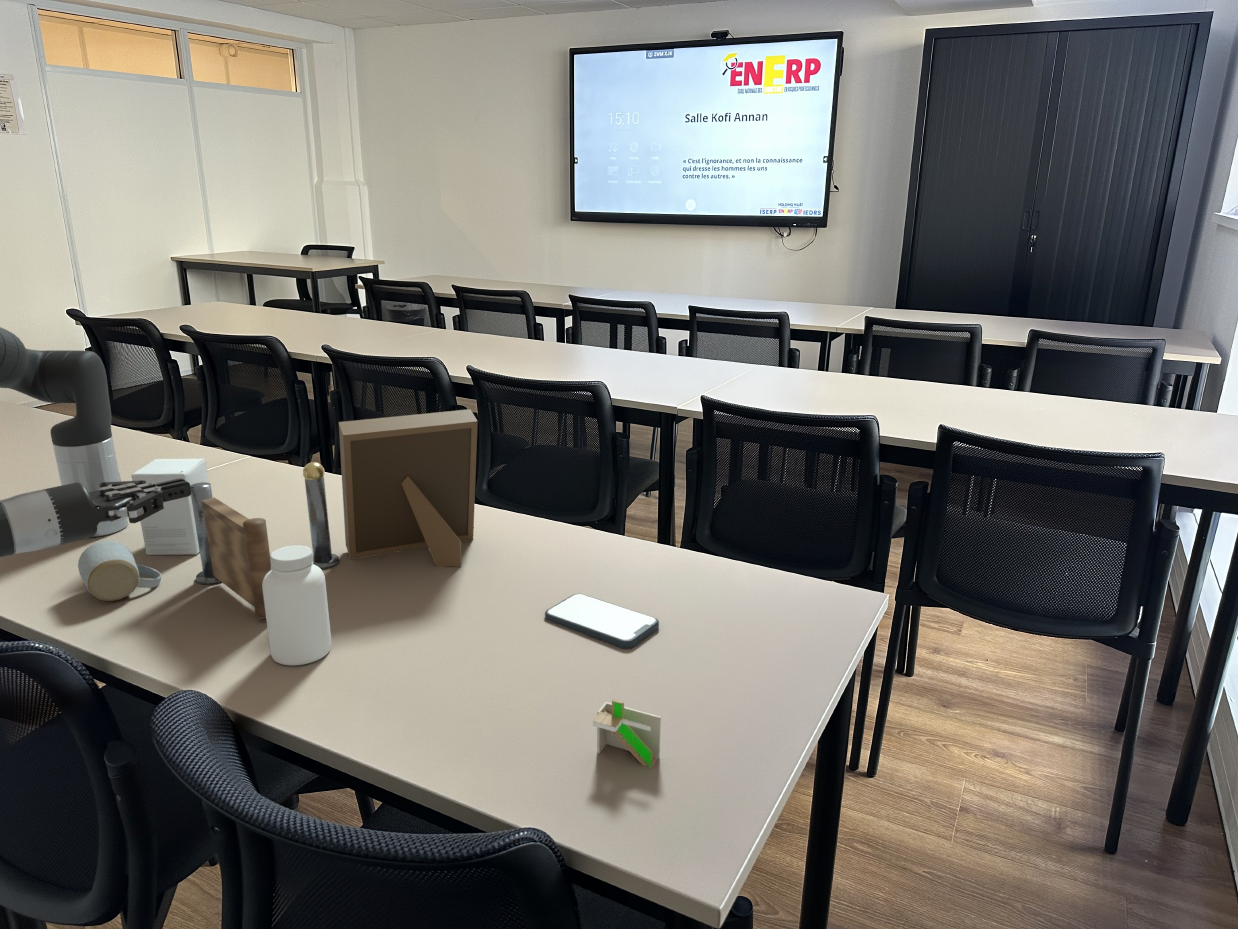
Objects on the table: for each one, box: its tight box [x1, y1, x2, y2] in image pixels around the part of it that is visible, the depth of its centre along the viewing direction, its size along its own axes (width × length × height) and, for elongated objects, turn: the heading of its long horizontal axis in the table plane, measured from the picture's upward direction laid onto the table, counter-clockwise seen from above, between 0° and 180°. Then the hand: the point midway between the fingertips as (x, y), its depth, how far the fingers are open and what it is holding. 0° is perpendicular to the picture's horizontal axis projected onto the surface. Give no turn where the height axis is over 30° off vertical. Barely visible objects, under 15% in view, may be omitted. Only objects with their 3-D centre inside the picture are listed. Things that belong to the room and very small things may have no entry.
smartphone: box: [544, 593, 660, 650], centre depth 127 cm, size 9×2×16 cm
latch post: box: [302, 461, 340, 570], centre depth 142 cm, size 5×5×18 cm
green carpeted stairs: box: [592, 699, 662, 769], centre depth 95 cm, size 4×7×8 cm, turn 66°
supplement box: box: [131, 458, 210, 556], centre depth 149 cm, size 9×9×15 cm
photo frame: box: [338, 408, 479, 568], centre depth 144 cm, size 15×22×25 cm
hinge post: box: [190, 482, 222, 585], centre depth 137 cm, size 5×5×16 cm
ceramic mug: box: [77, 539, 162, 602], centre depth 133 cm, size 11×8×8 cm
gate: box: [201, 496, 271, 619], centre depth 129 cm, size 18×3×14 cm, turn 46°
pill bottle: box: [262, 544, 332, 666], centre depth 115 cm, size 8×8×15 cm
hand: (187, 486), depth 122 cm, fingers closed
